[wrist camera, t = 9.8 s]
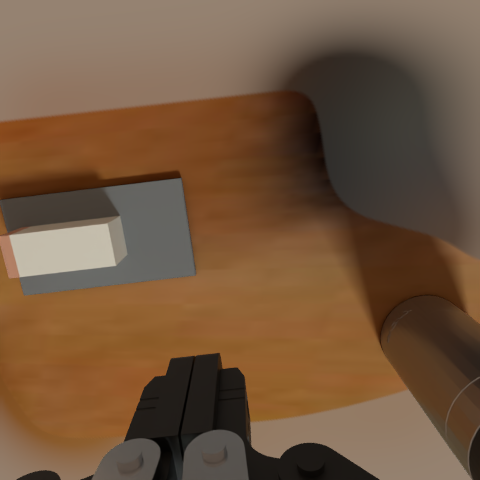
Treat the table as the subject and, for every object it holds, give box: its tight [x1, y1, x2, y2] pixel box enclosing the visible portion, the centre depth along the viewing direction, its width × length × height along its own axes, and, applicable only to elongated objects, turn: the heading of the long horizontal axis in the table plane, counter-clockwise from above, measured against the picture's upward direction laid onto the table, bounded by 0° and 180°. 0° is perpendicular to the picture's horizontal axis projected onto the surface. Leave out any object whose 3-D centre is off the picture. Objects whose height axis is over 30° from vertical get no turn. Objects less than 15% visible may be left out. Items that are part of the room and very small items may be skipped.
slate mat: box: [0, 178, 196, 295], centre depth 41 cm, size 18×10×1 cm, turn 97°
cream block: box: [0, 216, 127, 278], centre depth 39 cm, size 4×4×10 cm
